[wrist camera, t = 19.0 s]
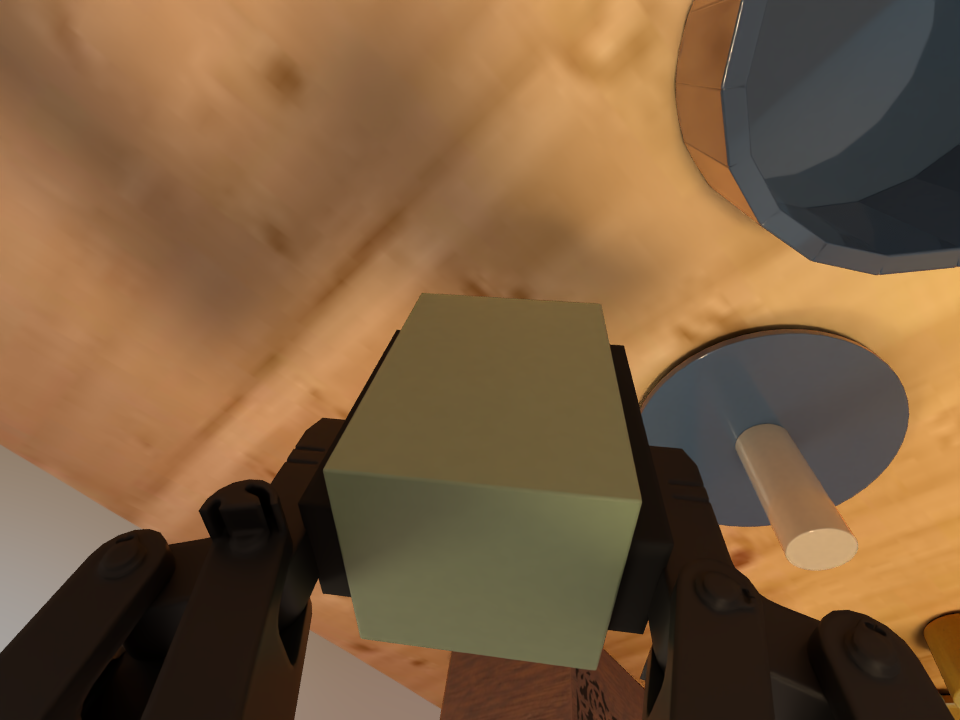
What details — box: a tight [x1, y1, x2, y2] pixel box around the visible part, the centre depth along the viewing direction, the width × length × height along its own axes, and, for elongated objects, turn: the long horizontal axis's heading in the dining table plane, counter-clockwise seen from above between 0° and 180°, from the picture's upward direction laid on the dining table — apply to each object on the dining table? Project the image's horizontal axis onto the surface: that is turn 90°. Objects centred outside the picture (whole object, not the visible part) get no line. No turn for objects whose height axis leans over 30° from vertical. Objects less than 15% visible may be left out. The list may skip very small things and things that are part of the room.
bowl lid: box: [640, 329, 909, 570], centre depth 28 cm, size 16×16×9 cm
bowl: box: [676, 0, 960, 275], centre depth 18 cm, size 15×15×8 cm
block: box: [323, 293, 642, 670], centre depth 12 cm, size 5×5×7 cm
